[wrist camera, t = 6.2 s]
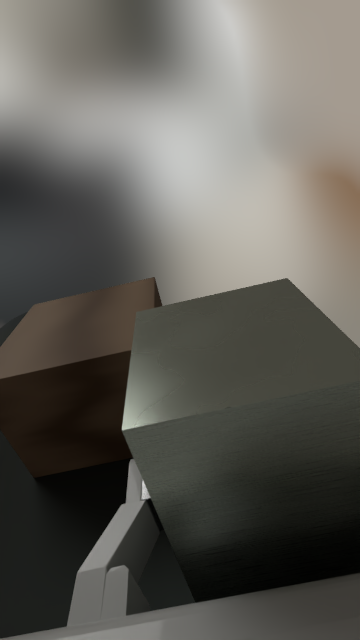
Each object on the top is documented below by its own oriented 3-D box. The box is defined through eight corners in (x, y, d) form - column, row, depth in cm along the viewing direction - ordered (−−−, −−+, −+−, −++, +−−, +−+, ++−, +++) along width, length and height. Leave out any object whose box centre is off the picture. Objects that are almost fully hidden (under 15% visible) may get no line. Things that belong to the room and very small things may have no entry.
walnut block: (34, 479, 21) (-30, 385, 17) (70, 380, 29) (33, 304, 26) (185, 447, 20) (154, 344, 16) (176, 357, 29) (154, 277, 25)
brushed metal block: (218, 656, 12) (121, 430, 6) (201, 517, 16) (136, 312, 10) (354, 632, 11) (387, 374, 6) (299, 498, 16) (287, 277, 10)
